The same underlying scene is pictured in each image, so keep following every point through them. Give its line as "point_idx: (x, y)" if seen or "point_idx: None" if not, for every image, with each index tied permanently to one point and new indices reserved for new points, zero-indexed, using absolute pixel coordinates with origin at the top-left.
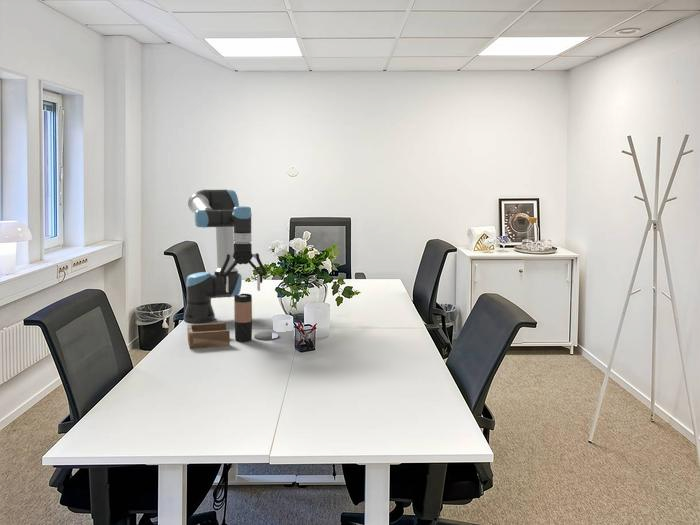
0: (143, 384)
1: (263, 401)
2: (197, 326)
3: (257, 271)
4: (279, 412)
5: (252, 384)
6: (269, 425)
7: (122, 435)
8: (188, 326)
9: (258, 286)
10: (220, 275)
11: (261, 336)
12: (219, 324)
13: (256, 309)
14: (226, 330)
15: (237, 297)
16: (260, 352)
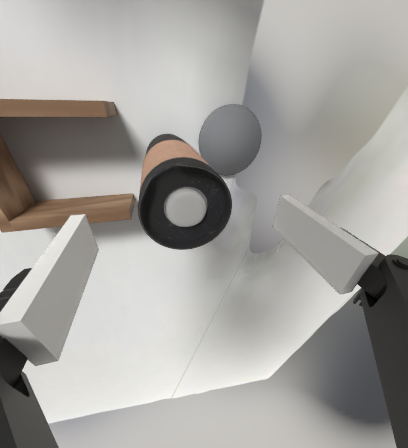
0: None
1: (175, 361)
2: None
3: (378, 336)
4: (185, 370)
5: (169, 339)
6: (175, 381)
7: (66, 407)
8: None
9: (288, 240)
10: None
11: (216, 152)
12: (80, 116)
13: None
14: (121, 216)
15: (156, 240)
16: (194, 248)
